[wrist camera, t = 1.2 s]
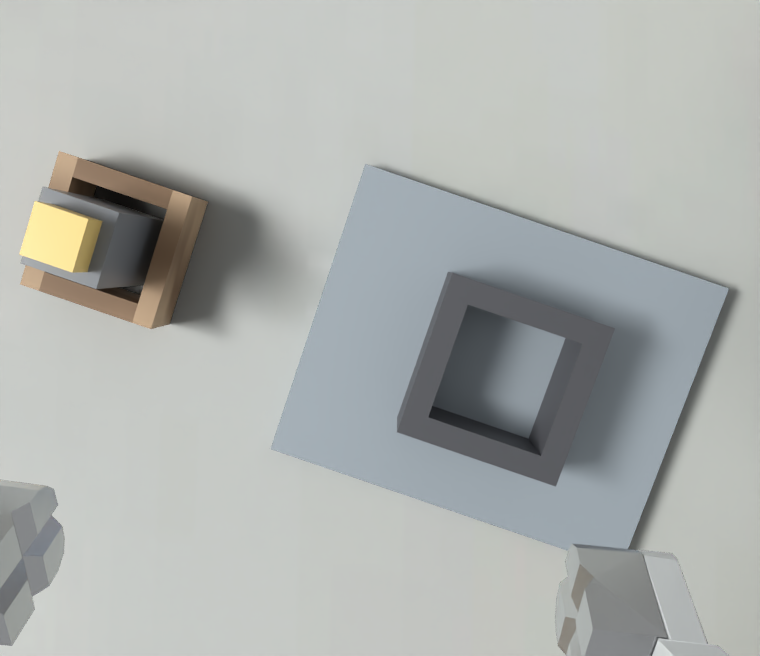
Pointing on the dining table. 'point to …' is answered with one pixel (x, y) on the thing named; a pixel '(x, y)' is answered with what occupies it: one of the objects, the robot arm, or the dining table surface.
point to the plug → (89, 240)
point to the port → (495, 365)
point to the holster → (168, 253)
